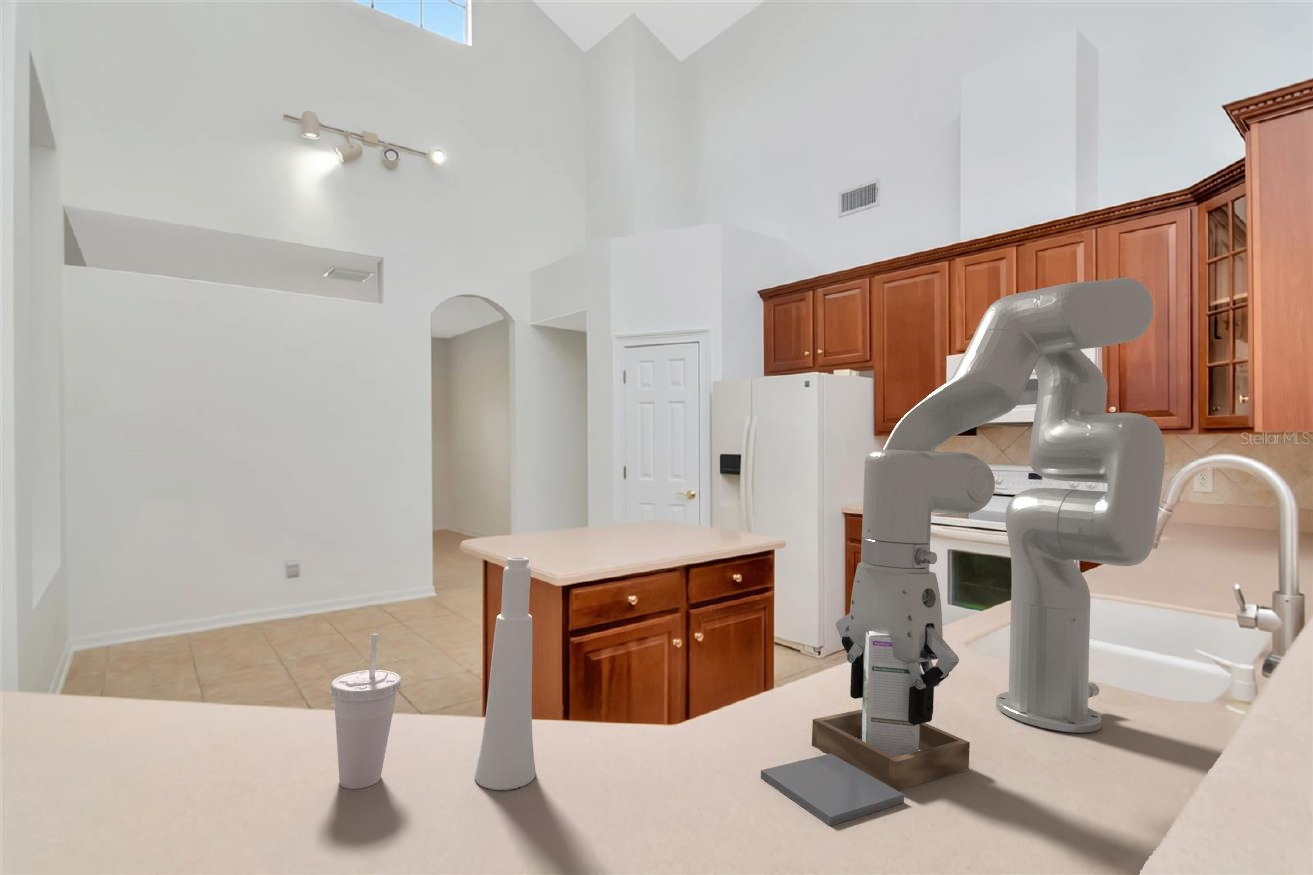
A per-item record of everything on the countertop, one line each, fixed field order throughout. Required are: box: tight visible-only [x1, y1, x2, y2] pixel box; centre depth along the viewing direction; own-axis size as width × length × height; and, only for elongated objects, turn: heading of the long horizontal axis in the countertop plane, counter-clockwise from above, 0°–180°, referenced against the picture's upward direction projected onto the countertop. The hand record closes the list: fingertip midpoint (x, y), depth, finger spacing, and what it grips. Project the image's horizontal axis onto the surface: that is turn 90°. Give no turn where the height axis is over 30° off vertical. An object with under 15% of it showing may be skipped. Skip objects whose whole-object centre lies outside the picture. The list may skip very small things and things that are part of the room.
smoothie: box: [329, 633, 402, 790], centre depth 65 cm, size 6×6×14 cm
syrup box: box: [861, 631, 921, 757], centre depth 76 cm, size 6×6×14 cm
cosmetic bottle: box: [474, 556, 537, 791], centre depth 67 cm, size 6×6×22 cm
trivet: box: [760, 753, 905, 827], centre depth 67 cm, size 10×10×1 cm
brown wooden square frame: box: [811, 708, 971, 792], centre depth 76 cm, size 12×12×3 cm
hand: (889, 708), depth 76 cm, fingers closed on syrup box, 7 cm apart
